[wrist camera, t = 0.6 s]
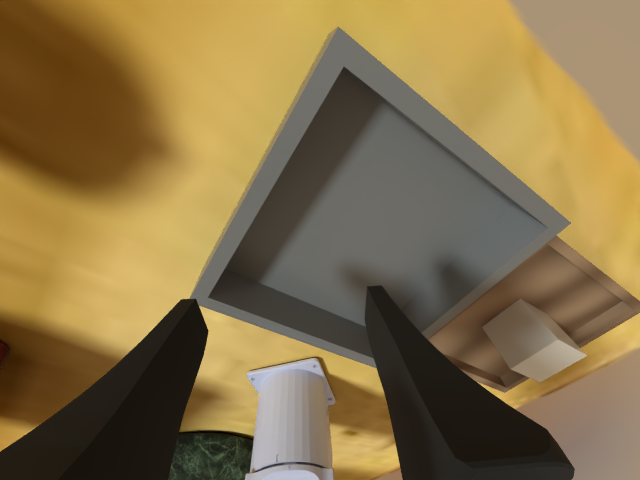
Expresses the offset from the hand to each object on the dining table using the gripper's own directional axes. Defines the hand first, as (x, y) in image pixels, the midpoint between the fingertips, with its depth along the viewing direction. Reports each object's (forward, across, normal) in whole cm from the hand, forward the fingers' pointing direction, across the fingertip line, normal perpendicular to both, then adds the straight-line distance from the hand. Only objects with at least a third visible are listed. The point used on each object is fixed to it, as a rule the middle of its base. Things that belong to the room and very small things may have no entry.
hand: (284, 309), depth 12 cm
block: (+9, -21, +13) cm, 26 cm away
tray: (+10, -21, +13) cm, 27 cm away
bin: (+10, -5, +2) cm, 11 cm away
